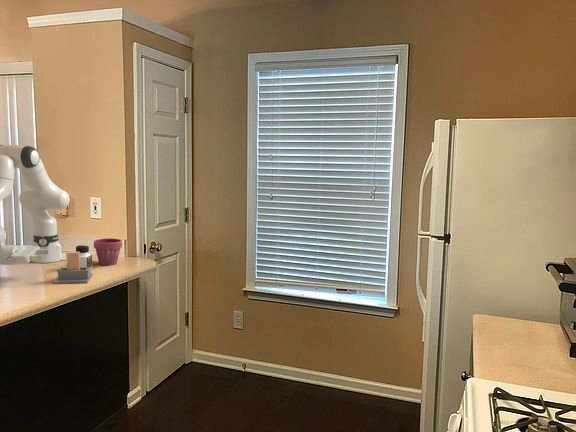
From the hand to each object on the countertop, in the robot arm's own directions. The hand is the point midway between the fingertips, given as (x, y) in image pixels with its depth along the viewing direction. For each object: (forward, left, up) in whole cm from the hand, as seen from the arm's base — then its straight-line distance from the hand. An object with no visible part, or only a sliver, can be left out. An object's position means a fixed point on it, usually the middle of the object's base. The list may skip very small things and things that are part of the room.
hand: (45, 254), depth 211 cm
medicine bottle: (-21, +12, -12) cm, 27 cm away
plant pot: (-31, +23, -12) cm, 40 cm away
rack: (0, +12, -12) cm, 17 cm away
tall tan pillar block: (0, +12, -11) cm, 16 cm away
